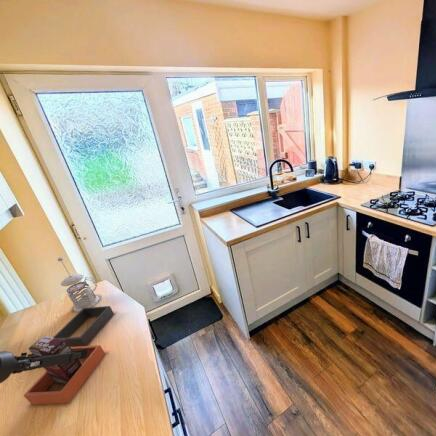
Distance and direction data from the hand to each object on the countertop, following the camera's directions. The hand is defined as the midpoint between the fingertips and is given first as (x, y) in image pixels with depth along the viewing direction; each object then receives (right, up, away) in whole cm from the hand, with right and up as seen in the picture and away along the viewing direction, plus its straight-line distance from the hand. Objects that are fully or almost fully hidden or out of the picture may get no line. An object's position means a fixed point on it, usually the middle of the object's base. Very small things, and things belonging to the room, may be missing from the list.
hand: (67, 354), depth 79 cm
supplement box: (+1, -8, +1) cm, 8 cm away
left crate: (+1, -8, +1) cm, 8 cm away
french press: (-21, +5, +34) cm, 40 cm away
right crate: (-9, -1, +18) cm, 21 cm away
